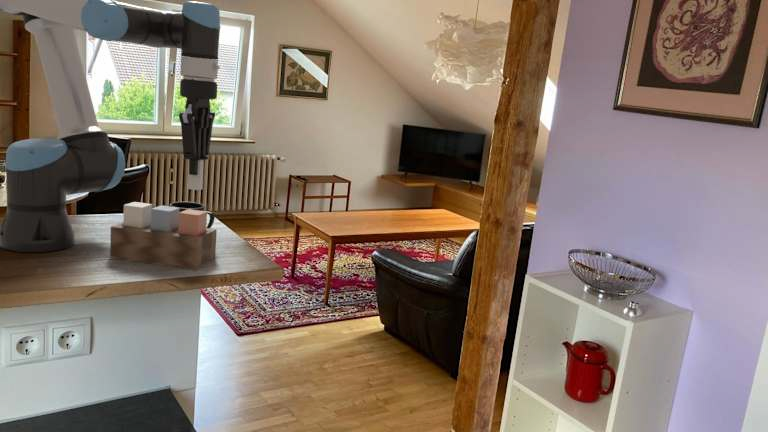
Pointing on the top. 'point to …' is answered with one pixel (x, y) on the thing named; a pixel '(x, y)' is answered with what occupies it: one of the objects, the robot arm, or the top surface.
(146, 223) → the ivory key
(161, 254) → the brown wooden block
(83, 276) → the top surface
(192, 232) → the terracotta key
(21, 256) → the top surface
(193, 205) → the mug
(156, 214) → the slate key
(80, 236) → the top surface
